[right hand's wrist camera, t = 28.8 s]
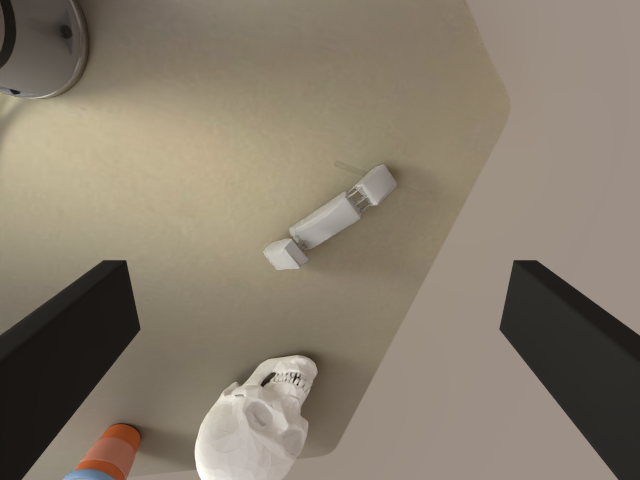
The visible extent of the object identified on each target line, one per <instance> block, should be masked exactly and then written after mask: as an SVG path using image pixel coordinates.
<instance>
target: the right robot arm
mask: <svg viewBox="0 0 640 480" xmlns="http://www.w3.org/2000/svg"><path fill="white" fill-rule="evenodd" d="M88 50H89V40H88V31H87V26H86V22H85V18H84V15H83V13H82V10H81V8H80V6H79V4H78V1H77V0H0V92H2V93H5V94H8V95H12V96H15V97H21V98H37V99H39V98H50V97H54V96H57V95H60V94H62V93H64V92H65V91H67V90H68V89H70V88H71V87H72V86H73V85H74V84H75V83H76V82H77V81H78V79H79V78H80V76H81V75H82V72H83V70H84V68H85V65H86V62H87V58H88ZM139 331H140V324H139V320H138V315H137V310H136V305H135V300H134V296H133V291H132V286H131V281H130V276H129V272H128V267H127V262H126V260H103V261H102V262H101V263H99V264H98V265H96V266H95V267H94V268H92V269H91V270H90V271H88V272H87V273H86V274H84V275H83V276H81V277H80V278H79V279H77V280H76V281H75V282H73V283H72V284H70V285H69V286H68V287H66V288H65V289H64V290H62V291H61V292H59V293H58V294H57V295H55V296H54V297H53V298H51V299H50V300H48V301H47V302H46V303H44V304H43V305H42V306H40V307H39V308H38V309H36V310H35V311H33V312H32V313H31V314H29V315H28V316H27V317H25V318H24V319H22V320H21V321H20V322H18V323H17V324H16V325H14V326H13V327H11V328H10V329H9V330H7V331H6V332H5V333H3V334H2V335H0V480H22V478H23V477H24V476H25V475H26V473H27V472H28V471H29V470H30V468H31V467H32V466H33V465H34V463H35V462H36V461H37V460H38V458H39V457H40V456H41V454H42V453H43V452H44V451H45V449H46V448H47V447H48V446H49V444H50V443H51V442H52V441H53V439H54V438H55V437H56V436H57V434H58V433H59V432H60V430H61V429H62V428H63V427H64V425H65V424H66V423H67V422H68V420H69V419H70V418H71V417H72V415H73V414H74V413H75V412H76V410H77V409H78V408H79V406H80V405H81V404H82V403H83V401H84V400H85V399H86V398H87V396H88V395H89V394H90V393H91V391H92V390H93V389H94V388H95V386H96V385H97V384H98V382H99V381H100V380H101V379H102V377H103V376H104V375H105V374H106V372H107V371H108V370H109V369H110V367H111V366H112V365H113V363H114V362H115V361H116V360H117V358H118V357H119V356H120V355H121V353H122V352H123V351H124V350H125V348H126V347H127V346H128V345H129V343H130V342H131V341H132V339H133V338H134V337H135V336H136V334H137V333H138V332H139ZM500 331H501V332H502V333H503V334H504V336H505V337H506V338H507V339H508V341H509V342H510V343H511V345H512V346H513V347H514V348H515V350H516V351H517V352H518V353H519V355H520V356H521V357H522V358H523V360H524V361H525V362H526V363H527V365H528V366H529V367H530V369H531V370H532V371H533V372H534V374H535V375H536V376H537V377H538V379H539V380H540V381H541V382H542V384H543V385H544V386H545V387H546V389H547V390H548V391H549V393H550V394H551V395H552V396H553V398H554V399H555V400H556V401H557V403H558V404H559V405H560V406H561V408H562V409H563V410H564V411H565V413H566V414H567V415H568V417H569V418H570V419H571V420H572V422H573V423H574V424H575V425H576V427H577V428H578V429H579V430H580V432H581V433H582V434H583V436H584V437H585V438H586V439H587V441H588V442H589V443H590V444H591V446H592V447H593V448H594V449H595V451H596V452H597V453H598V454H599V456H600V457H601V458H602V459H603V461H604V462H605V463H606V465H607V466H608V467H609V468H610V470H611V471H612V472H613V473H614V475H615V476H616V477H617V478H618V480H640V335H638V334H637V333H635V332H634V331H633V330H631V329H630V328H629V327H627V326H626V325H624V324H623V323H622V322H620V321H619V320H618V319H616V318H615V317H613V316H612V315H611V314H609V313H608V312H607V311H605V310H604V309H602V308H601V307H600V306H598V305H597V304H596V303H594V302H593V301H592V300H590V299H589V298H587V297H586V296H585V295H583V294H582V293H581V292H579V291H578V290H576V289H575V288H574V287H572V286H571V285H570V284H568V283H567V282H565V281H564V280H563V279H561V278H560V277H559V276H557V275H556V274H554V273H553V272H552V271H550V270H549V269H548V268H546V267H545V266H544V265H542V264H541V263H539V262H538V261H536V260H514V262H513V267H512V272H511V276H510V281H509V286H508V291H507V296H506V300H505V305H504V310H503V315H502V320H501V324H500Z"/></svg>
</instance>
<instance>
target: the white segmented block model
mask: <svg viewBox="0 0 640 480" xmlns="http://www.w3.org/2000/svg"><path fill="white" fill-rule="evenodd" d="M396 186H398V185H397V183H396V181H395V180H394V178H393V177H392V175H391V174H390V172H389V171H388V169H387V168H386V166H385V165H380V166H377V167H374V168H373V169H372V170H371V171H370V172H369V173H368V174H366V175H365V176H364V177H363V178H362V179H361V180H360V181H359V182H358V183H357V184H356V185H355V186H354V187H353V188H352V189H351V190H350V191H349V192H348V191H344V192H342V193H341V194H340V195H338V196H337V197H335V198H334V199H332V200H331V201H329V202H328V203H326V204H325V205H323V206H322V207H320V208H319V209H317V210H316V211H314V212H313V213H311V214H310V215H308V216H307V217H305V218H304V219H302V220H301V221H299V222H298V223H296V224H295V225H293V226H292V227H290V230H289V233H290V235H291V236H292V237H293V238H292V239H288V238H286V239H282V240H279V241H274V242H272V243H271V244H270V245H269V246H268V247H267V248H266V249H265V250H264V255H265V256H266V257H267V259H268V260H269V261H270V262H271V264H272V265H273V266H274V267H275V269H276V270H284V269H300V268H301V266H302V265H303V264H304V263H305V262H307V261H308V258H307V256H306V255H305V254H304V253H303V252H302V251H304V250H306V249H308V250H310V249H312V248H314V247H315V246H317V245H319V244H321V243H322V242H324V241H325V240H327V239H329V238H330V237H332V236H333V235H335V234H337V233H338V232H340V231H341V230H343V229H345V228H346V227H348V226H350V225H351V224H353V223H355V222H356V221H358V220H359V219H360V218H361V214H362V213H363V212H364V211H365V209H366V208H367V207H368V206H376V205H379V204H380V203H381V202H382V201H383V200H384V199H385V198H386V197H387V196H388V195H389V194H390V193H391V192H392V191H393V189H394V188H395V187H396ZM354 188H355V189H356V191H355V192H354V193H352V194H351V195H350V192H351V191H352V190H353V189H354ZM358 191H359V192H360V194H361V195H362V196H363V197H362V198H361V199H359V200H358V201H356V202H355V200H354V199H353V198H352V195H354V194H355V193H356V192H358ZM360 200H361V201H360ZM363 200H366V201H367V202H368V205H367V206H365V207H364V208H362V209H361V208H360V207H359V206H358V204H359V203H361V202H362V201H363ZM357 202H358V203H357ZM362 210H363V211H362ZM361 211H362V212H361ZM293 239H294V240H295V241H296V243H297V244H298V245H296V243H295V242H294V241H293ZM298 246H299V247H300V248H299V247H298ZM301 248H303V250H300V249H301Z"/></svg>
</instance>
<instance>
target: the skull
mask: <svg viewBox="0 0 640 480" xmlns="http://www.w3.org/2000/svg"><path fill="white" fill-rule="evenodd" d="M273 372H275V373H277V374H276V375H275V376H274V378H272V379H271V380H270V382H269V383H267V384H266V385H265V386H264V387H262V386H260V385H261V383H262V382H263V380H264V379H265V378H266V377H267V376H268V375H269V374H271V373H273ZM290 373H292V377H293V378H291V376H290ZM296 373H297V377H299V375H300V374H301V376H300V379H301V380H300V381H299V379H298V378H297V379H296V380H295V382H294V383H292V382H293V379H294V377H295V374H296ZM317 373H318V371H317V368H316V365H315V363H314V362H313V361H312V360H311V359H309V358H307V357H305V356H300V355H294V356H287V357H280V358H273V359H268V360H266V361H264V362H262V363H261V364H260V365H259V366H258V367H257V369H256V370H255V371H254V373H253V374H252V375H251V376H250V377H249V379H248V380H247V381H246V382H245V383H244V384H243V385H242V386H239V384H238V383H237V382H234V383H232V384H231V385H230V386H229V387H228V388H226V389H224V390H223V392H222V394H221V396H220V398H219V399H218V401H217V402H216V403H215V404H214V406H213V407H212V408H211V409H210V411H209V412H208V414H207V415H206V417H205V418H204V420H203V422H202V424H201V426H200V430H199V433H198V437H197V441H196V445H195V460H196V466H197V471H198V474H199V476H200V478H201V480H282V479H283V478H284V477H285V476H286V474H287V473H288V472H289V470H290V468H291V467H292V465H293V463H294V461H295V460H296V458H297V457H298V455H299V454H300V453H301V451H302V448H303V446H304V443H305V440H306V437H307V432H308V421H307V420H305V419H304V418H303V417H302V416H301V415H300V414H301V406H302V404H303V402H304V401H305V399H306V397H307V395H308V394H309V391H310V389H311V388H310V387H311V386H312V383H313V380H314V378H315V377H316V375H317ZM278 374H279V375H278ZM282 374H283V375H282ZM286 374H287V375H286ZM290 378H291V379H290ZM302 378H303V379H302ZM286 379H287V380H286ZM285 380H286V381H285ZM289 380H290V382H289ZM298 382H299V385H298V386H297V385H296V384H297V383H298Z"/></svg>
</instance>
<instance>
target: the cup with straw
mask: <svg viewBox="0 0 640 480" xmlns="http://www.w3.org/2000/svg"><path fill="white" fill-rule="evenodd" d="M140 441H141V437H140V435H139V433H138V431H137V430H135V429H134V428H133V427H131V426H128V425H125V424H116V425H113V426H111V427H109V428H108V429H107V431H106V432H105V433H104V434H103V436H102V437H101V438H100V439H99V440H98V441H97V442H96V443H95V444H94V445H93V446H92V448H91V449H90V450H89V451H88V453H87V454H86V455H85V457H84V458H83V459H82V460H81V462H80V463H79V464H78V465H77V467H76V469H75V471H73V472H71V473H69V474H68V475H67V476H66V477H65V478H64V479H63V480H126V479H127V476H128V474H129V471H130V469H131V466H132V464H133V462H134V459H135V454H136V451H137V449H138V447H139V444H140Z"/></svg>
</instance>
